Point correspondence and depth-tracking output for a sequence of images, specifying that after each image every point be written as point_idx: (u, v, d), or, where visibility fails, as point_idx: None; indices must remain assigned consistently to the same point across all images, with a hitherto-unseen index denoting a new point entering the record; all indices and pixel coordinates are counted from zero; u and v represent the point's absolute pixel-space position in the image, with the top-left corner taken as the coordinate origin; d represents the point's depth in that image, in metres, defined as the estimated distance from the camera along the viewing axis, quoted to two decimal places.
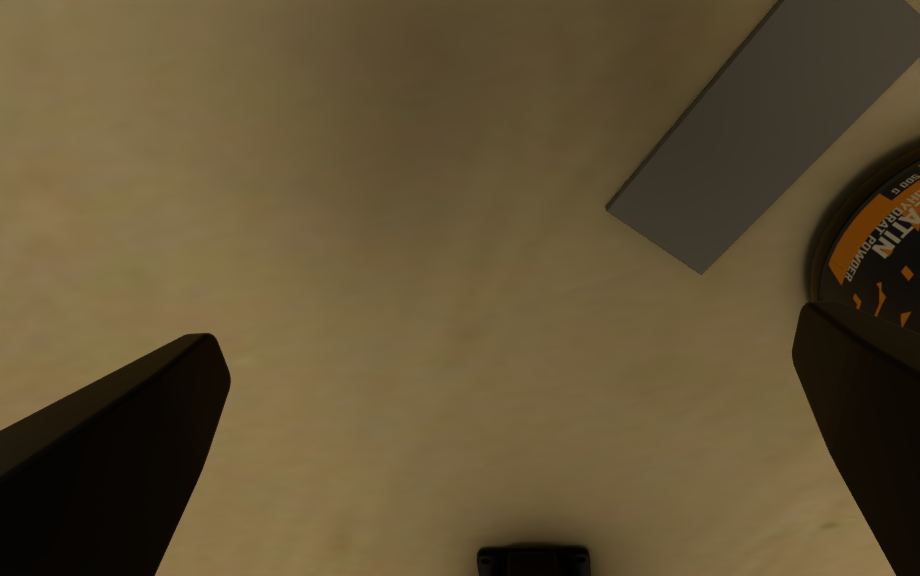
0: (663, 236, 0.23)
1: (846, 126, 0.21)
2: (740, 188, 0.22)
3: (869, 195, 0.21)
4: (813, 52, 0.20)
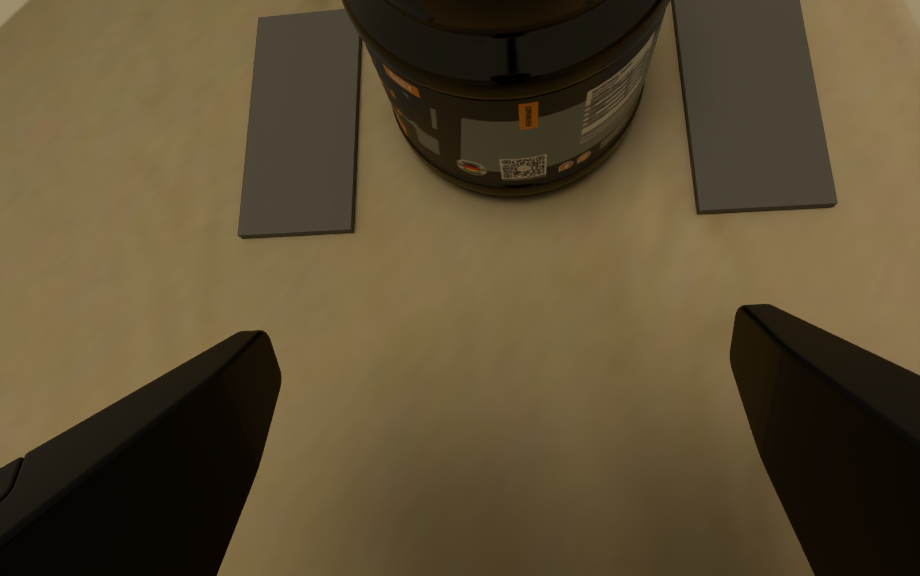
0: (295, 222, 0.25)
1: (354, 76, 0.26)
2: (321, 154, 0.25)
3: None
4: (295, 61, 0.27)
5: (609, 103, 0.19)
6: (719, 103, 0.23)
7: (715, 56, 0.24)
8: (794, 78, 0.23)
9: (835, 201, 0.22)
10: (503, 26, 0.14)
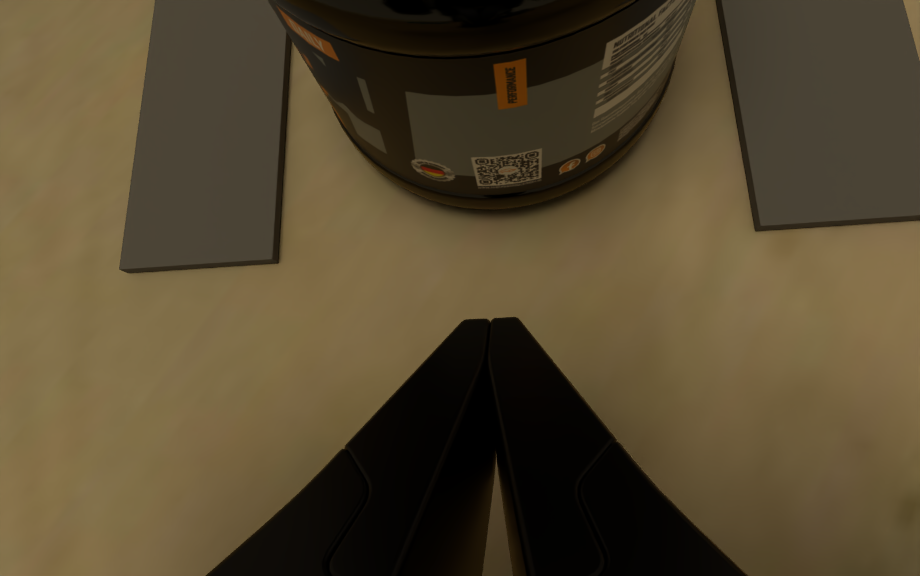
0: (197, 250, 0.18)
1: (281, 51, 0.19)
2: (235, 156, 0.18)
3: None
4: (203, 34, 0.20)
5: (637, 67, 0.12)
6: (780, 75, 0.17)
7: (771, 11, 0.17)
8: (884, 38, 0.17)
9: None
10: None
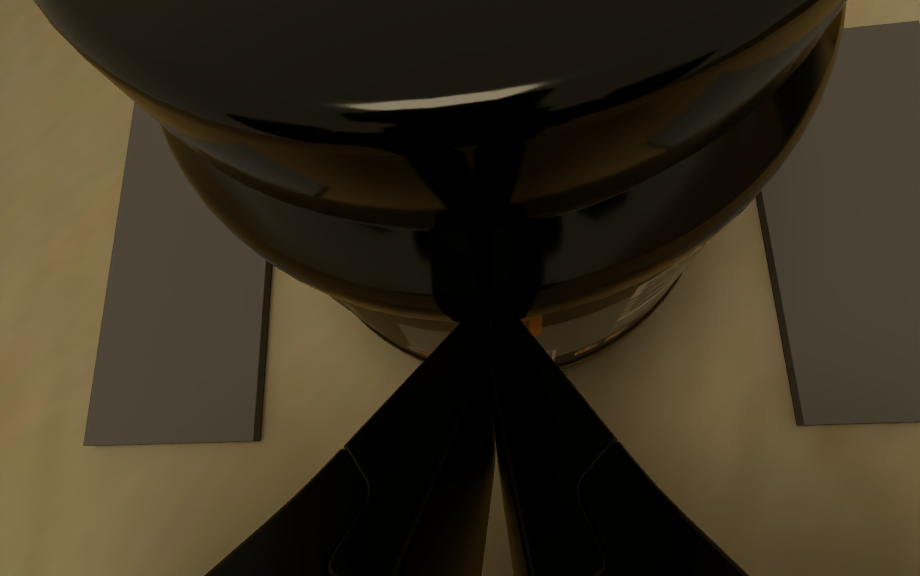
0: (170, 426, 0.16)
1: None
2: (214, 314, 0.17)
3: None
4: None
5: (669, 279, 0.10)
6: (823, 242, 0.15)
7: (810, 165, 0.16)
8: None
9: None
10: (458, 223, 0.06)
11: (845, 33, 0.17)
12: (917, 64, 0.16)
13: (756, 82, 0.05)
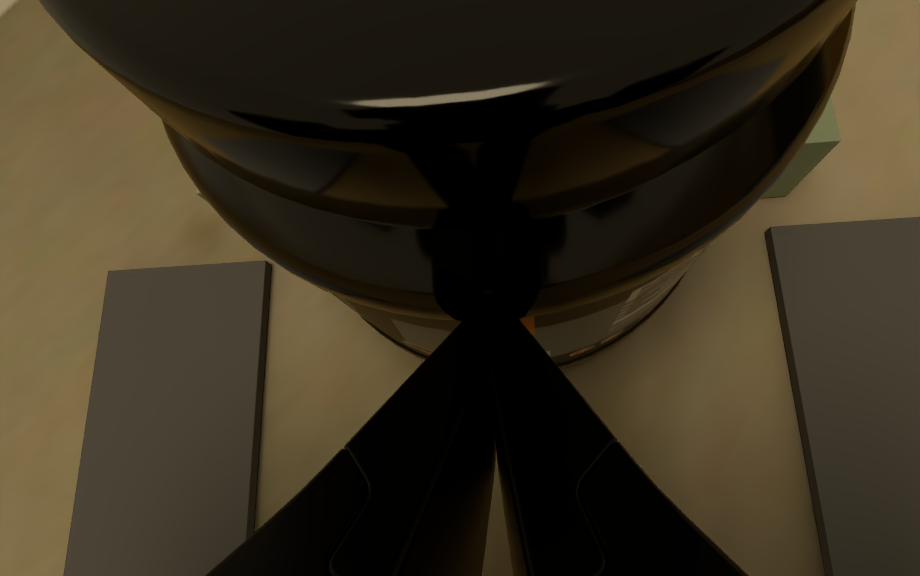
0: None
1: (252, 388, 0.16)
2: (193, 535, 0.15)
3: None
4: (159, 354, 0.17)
5: (666, 284, 0.10)
6: (874, 481, 0.13)
7: (858, 386, 0.14)
8: None
9: None
10: (447, 222, 0.06)
11: (896, 224, 0.15)
12: None
13: (751, 90, 0.05)
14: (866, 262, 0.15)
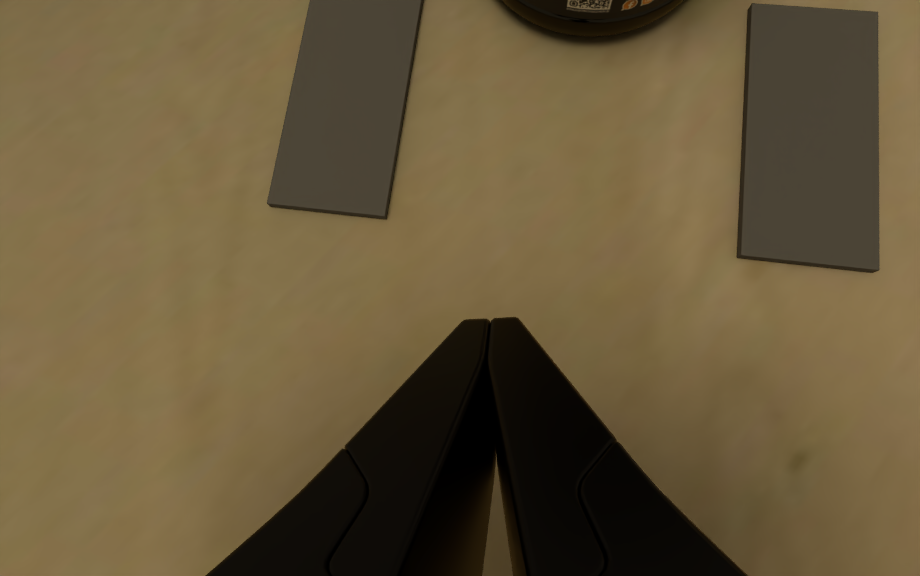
0: (328, 199, 0.24)
1: (409, 55, 0.25)
2: (364, 132, 0.24)
3: None
4: (348, 28, 0.25)
5: None
6: (779, 147, 0.23)
7: (782, 97, 0.23)
8: (858, 133, 0.23)
9: (877, 268, 0.22)
10: None
11: (828, 11, 0.24)
12: (868, 41, 0.23)
13: None
14: (804, 30, 0.24)
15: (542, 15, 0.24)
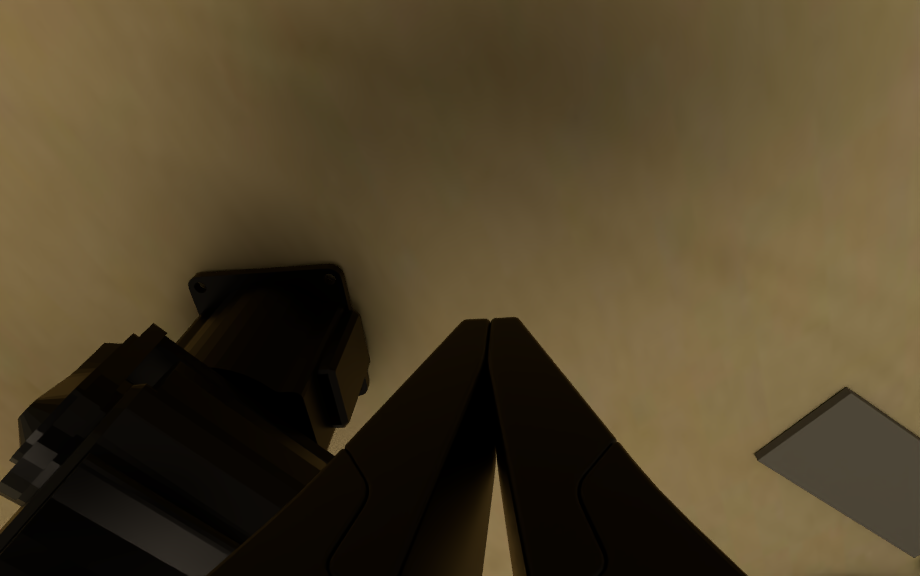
0: (808, 433, 0.25)
1: (866, 525, 0.28)
2: (837, 477, 0.27)
3: None
4: None
5: None
6: None
7: None
8: None
9: None
10: None
11: None
12: None
13: None
14: None
15: None
